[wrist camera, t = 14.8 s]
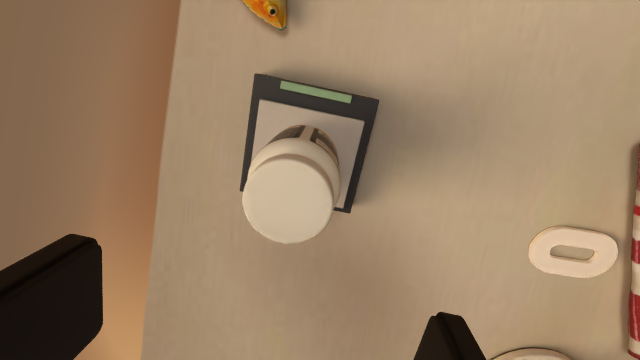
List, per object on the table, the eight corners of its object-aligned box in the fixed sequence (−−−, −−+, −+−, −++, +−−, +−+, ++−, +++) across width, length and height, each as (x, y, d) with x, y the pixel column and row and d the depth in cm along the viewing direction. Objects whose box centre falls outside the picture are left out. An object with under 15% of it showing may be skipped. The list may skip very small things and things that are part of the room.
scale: (376, 98, 25) (380, 100, 23) (348, 205, 28) (350, 216, 26) (260, 74, 25) (252, 73, 23) (245, 184, 28) (237, 193, 26)
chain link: (599, 278, 30) (621, 235, 28) (604, 282, 29) (627, 238, 28) (520, 265, 30) (539, 221, 28) (524, 269, 29) (543, 224, 28)
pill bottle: (268, 187, 25) (231, 249, 16) (270, 119, 24) (229, 143, 14) (335, 193, 25) (337, 258, 16) (342, 126, 24) (348, 154, 14)
